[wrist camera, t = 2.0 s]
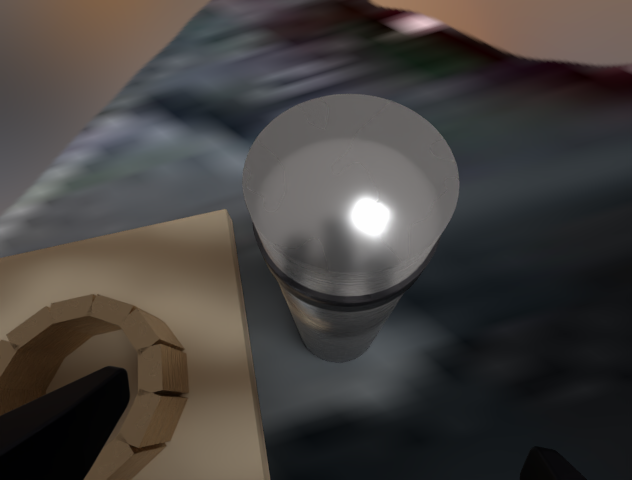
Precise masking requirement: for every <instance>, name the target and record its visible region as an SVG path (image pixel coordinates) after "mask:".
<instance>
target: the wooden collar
mask: <svg viewBox="0 0 632 480" xmlns="http://www.w3.org/2000/svg"><path fill="white" fill-rule="evenodd" d="M121 329H122V330H123V332H124V333H125V335H126V336H127V338H128V339H129V341H130V342H131V344H132V345H133V347H134V348H135V349H136V351H137V352H138V394H137V396H136V398H135V400H134V402H133V404H132V406H131V408H130V411H129V413H128V415H127V417H126V419H125V421H124V423H123V425H122V427H121V430H120V432H119V434H118V435H117V436H116V437H115V438H114V439H113V440H112V441H111V442H110V443H108V444H107V445H106V446H105V447H104V448H103V449H102V451H101V452H100V454H99V456H98V457H97V459H96V461H95V463H94V464H93V466H92V467H91V469H90V471H89V472H88V474H87V475H86V477H85V478H84V480H131V479H132V478H133V477H135V476H136V475H137V474H138V473H139V472H140V471H141V470H142V469H143V468H144V467H145V466H146V465H147V464H148V463H149V462H151V461H152V460H153V459H154V458H155V457H156V456H157V455H158V454H159V453H160V452H161V451H162V450H163V449H164V448H166V447H167V445H166V444H165V442H169V441H171V439H172V436H173V434H174V431H175V429H176V427H177V424H178V422H179V419H180V417H181V414H182V412H183V410H184V407H185V405H186V402H187V400H188V398H187V397H184V396H181V395H182V394H186V393H189V382H188V368H187V353H184V352H182V351H183V350H185V348H184V347H183V346H182V344H181V343H180V342H179V340H178V339H177V338H176V336H175V335H174V334H173V332H172V331H171V330H170V328H169V327H168V326H167V324H166V323H165V322H164V321H162V320H161V319H159V318H157V317H155V316H153V315H151V314H149V313H147V312H145V311H143V310H142V309H140V308H138V307H136V306H134V305H131V304H128V303H125V302H121V301H118V300H115V299H112V298H109V297H105V296H102V295H99V294H97V296H96V295H94V294H90V295H86V296H81V297H77V298H73V299H68V300H64V301H60V302H55V303H51V308H50V307H48V306H45V307H44V308H42V309H41V310H39V311H38V312H37V313H35V314H34V315H33V316H31V317H30V318H28V319H27V320H26V321H24V322H23V323H22V324H20V325H19V326H17V327H16V328H15V329H13V330H12V331H10V332H9V333H8V334H6V336H7V338H8V340H9V341H7V340H2V339H1V341H0V416H1V415H3V414H5V413H7V412H9V411H11V410H13V409H16V408H18V407H20V406H22V405H24V404H26V403H28V402H31V401H33V400H35V399H37V398H39V397H41V396H43V395H46V390H47V388H48V386H49V385H50V383H51V381H52V380H53V378H54V376H55V374H56V373H57V371H58V369H59V367H60V366H61V364H62V362H63V360H64V359H65V358H66V357H67V356H68V355H69V354H71V353H72V352H73V351H75V350H76V349H77V348H78V347H80V346H81V345H82V344H83V343H85V342H86V341H87V340H89V339H90V338H91V337H92V336H95V335H100V334H104V333H108V332H112V331H117V330H121Z"/></svg>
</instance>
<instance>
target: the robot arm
mask: <svg viewBox="0 0 632 480" xmlns="http://www.w3.org/2000/svg"><path fill="white" fill-rule="evenodd" d="M129 400H130V388H129V380H128V372H127V370H126V369H124V368H121V367H116V366H106V367H104V368H101V369H99V370H97V371H95V372H93V373H91V374H88V375H86V376H84V377H82V378H80V379H78V380H76V381H73V382H71V383H69V384H67V385H65V386H63V387H61V388H58V389H56V390H54V391H52V392H50V393H48V394H46V395H43V396H41V397H39V398H37V399H35V400H33V401H31V402H28V403H26V404H24V405H22V406H20V407H18V408H16V409H13V410H11V411H9V412H7V413H5V414H3V415H1V416H0V480H84V478H85V477H86V475H87V474H88V472H89V471H90V469H91V467H92V466H93V464H94V463H95V461H96V459H97V457H98V456H99V454H100V452H101V451H102V449H103V447H104V445H105V444H106V442H107V440H108V439H109V437H110V435H111V433H112V432H113V430H114V428H115V427H116V425H117V423H118V421H119V420H120V418H121V416H122V415H123V413H124V411H125V410H126V408H127V406H128V403H129ZM520 480H587V479H586V478H585V477H584V476H583V475H581V474H580V473H579V472H578V471H577V470H576V469H575V468H574V467H573V466H572V465H571V464H570V463H569V462H568V461H567V460H566V459H565V458H563V457H562V456H561V455H560V454H559V453H558V452H556V451H555V450H552V449H547V448H542V447H537V446H535V447H532V448H531V449H530V451H529V454H528V456H527V458H526V461H525V463H524V465H523V468H522V470H521V473H520Z"/></svg>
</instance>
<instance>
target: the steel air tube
mask: <svg viewBox="0 0 632 480" xmlns="http://www.w3.org/2000/svg"><path fill="white" fill-rule="evenodd" d="M242 184H243V195H244V199H245V202H246V206H247V209H248V211H249V213H250V216H251V218H252V221H253V230H254V234H255V238H256V241H257V244H258V246H259V248H260V251H261V253H262V255H263V257H264V260H265V262H266V264H267V266H268V268H269V270H270V271H271V273H272V275H273V276H274V277H275V279H276V280H277V281H278V283H279V285H280V288H281V290H282V292H283V295H284V297H285V299H286V302H287V304H288V307H289V309H290V311H291V314H292V316H293V319H294V321H295V323H296V326H297V328H298V331H299V333H300V335H301V338H302V340H303V342H304V344H305V345H306V347H307V348H308V349H309V350H310V351H311V352H312V353H313V354H314V355H316V356H317V357H319V358H321V359H323V360H325V361H329V362H335V363H343V362H348V361H351V360H354V359H356V358H358V357H359V356H361V355H362V354H363V353H364V352H365V351H366V350H367V349H368V348H369V347H370V345H371V343H372V342H373V340H374V339H375V337H376V336H377V334H378V332H379V331H380V329H381V328H382V326H383V325H384V323H385V321H386V320H387V318H388V317H389V315H390V314H391V312H392V311H393V309H394V307H395V306H396V304H397V303H398V301H399V300H400V298H401V296H402V295H403V293H404V292H405V291H406V290H408V289H409V288H410V287H411V286H412V285H413V284H414V282H415V281H416V280H417V279H418V278H419V276H420V275H421V273H422V272H423V270H424V269H425V267H426V266H427V264H428V263H429V261H430V259H431V258H432V256H433V255H434V253H435V251H436V248H437V246H438V244H439V240H440V236H441V234H442V232H443V231H444V229H445V227H446V226H447V224H448V223H449V221H450V219H451V217H452V215H453V212H454V210H455V208H456V204H457V199H458V195H459V175H458V169H457V165H456V161H455V159H454V156H453V154H452V152H451V149H450V148H449V146H448V144H447V143H446V141H445V139H444V138H443V137H442V136H441V134H440V133H439V132H438V131H437V130H436V129H435V128H434V127H433V126H432V125H431V124H430V123H429V122H428V121H427V120H425V119H424V118H423V117H421V116H420V115H419V114H417V113H415V112H414V111H412V110H410V109H409V108H407V107H405V106H402V105H400V104H398V103H395V102H393V101H390V100H387V99H383V98H379V97H375V96H368V95H361V94H339V95H330V96H324V97H320V98H316V99H312V100H309V101H306V102H303V103H301V104H299V105H296V106H294V107H292V108H290V109H288V110H287V111H285V112H284V113H282V114H280V115H279V116H278V117H277V118H275V119H274V120H273V121H271V122H270V123H269V124H268V125H267V126H266V127H265V128H264V129H263V130H262V132H261V133H260V134H259V136H258V137H257V138H256V139H255V141H254V143H253V145H252V146H251V148H250V150H249V153H248V155H247V158H246V161H245V165H244V170H243V181H242Z"/></svg>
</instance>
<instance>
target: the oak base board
mask: <svg viewBox="0 0 632 480" xmlns="http://www.w3.org/2000/svg"><path fill="white" fill-rule="evenodd" d="M90 294H94V295H96V296H97V294H99V295H102V296H105V297H109V298H112V299H115V300H118V301H121V302H125V303H128V304H131V305H134V306H136V307H138V308H140V309H142V310H143V311H145V312H147V313H149V314H151V315H153V316H155V317H157V318H159V319H161V320H162V321H164V322H165V323H166V324H167V326H168V327H169V328H170V330H171V331H172V332H173V334H174V335H175V336H176V338H177V339H178V340H179V342H180V343H181V344H182V346H183V347H184V348H185V350H183V351H182V352H184V353H187V368H188V382H189V393H186V394H182V395H181V396H184V397H187V398H188V400H187V402H186V405H185V407H184V410H183V412H182V414H181V417H180V419H179V422H178V424H177V427H176V429H175V431H174V434H173V436H172V439H171V441H169V442H165V444H166V445H167V447H166V448H164V449H163V450H162V451H161V452H160V453H159V454H158V455H157V456H156V457H155V458H154V459H153V460H152V461H151V462H149V463H148V464H147V465H146V466H145V467H144V468H143V469H142V470H141V471H140V472H139V473H138V474H137V475H136V476H135V477H133V478H132V479H131V480H270V473H269V467H268V460H267V453H266V446H265V440H264V433H263V426H262V419H261V412H260V406H259V399H258V392H257V385H256V379H255V372H254V365H253V358H252V352H251V345H250V338H249V331H248V325H247V318H246V311H245V304H244V297H243V291H242V284H241V277H240V270H239V264H238V257H237V250H236V243H235V237H234V230H233V223H232V219H231V218H230V216H229V214H228V212H227V210H226V209H223V210H219V211H214V212H210V213H205V214H200V215H196V216H191V217H187V218H182V219H178V220H173V221H168V222H164V223H159V224H155V225H150V226H145V227H141V228H136V229H132V230H127V231H123V232H118V233H113V234H109V235H104V236H100V237H95V238H90V239H86V240H81V241H77V242H72V243H68V244H63V245H58V246H54V247H49V248H45V249H40V250H36V251H31V252H26V253H22V254H17V255H13V256H8V257H3V258H0V341H1V339H2V340H7V341H9V340H8V338H7V336H6V334H8V333H9V332H10V331H12V330H13V329H15V328H16V327H17V326H19V325H20V324H22V323H23V322H24V321H26V320H27V319H28V318H30V317H31V316H33V315H34V314H35V313H37V312H38V311H39V310H41V309H42V308H44V307H45V306H48V307H50V308H51V303H55V302H60V301H64V300H68V299H73V298H77V297H81V296H86V295H90ZM106 366H116V367H121V368H124V369H126V370H127V372H128V380H129V388H130V400H129V403H128V406H127V408H126V410H125V411H124V413H123V415H122V416H121V418H120V420H119V421H118V423H117V425H116V427H115V428H114V430H113V432H112V433H111V435H110V437H109V439H108V440H107V442H106V444H105V445H104V447H105V446H106V445H107V444H108V443H110V442H111V441H112V440H113V439H114V438H115V437H116V436H117V435H118V434H119V432H120V430H121V427H122V425H123V423H124V421H125V419H126V417H127V415H128V413H129V411H130V408H131V406H132V404H133V402H134V400H135V398H136V396H137V394H138V352H137V351H136V349H135V348H134V347H133V345H132V344H131V342H130V341H129V339H128V338H127V336H126V335H125V333H124V332H123V330H122V329H121V330H117V331H112V332H108V333H104V334H100V335H95V336H92V337H91V338H90V339H89V340H87V341H86V342H85V343H83V344H82V345H81V346H80V347H78V348H77V349H76V350H75V351H73V352H72V353H71V354H69V355H68V356H67V357H66V358H65V359H64V360H63V362H62V364H61V366H60V367H59V369H58V371H57V373H56V374H55V376H54V378H53V380H52V381H51V383H50V385H49V386H48V388H47V390H46V394H48V393H50V392H52V391H54V390H56V389H58V388H61V387H63V386H65V385H67V384H69V383H71V382H73V381H76V380H78V379H80V378H82V377H84V376H86V375H88V374H91V373H93V372H95V371H97V370H99V369H101V368H104V367H106ZM104 447H103V448H104Z"/></svg>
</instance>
